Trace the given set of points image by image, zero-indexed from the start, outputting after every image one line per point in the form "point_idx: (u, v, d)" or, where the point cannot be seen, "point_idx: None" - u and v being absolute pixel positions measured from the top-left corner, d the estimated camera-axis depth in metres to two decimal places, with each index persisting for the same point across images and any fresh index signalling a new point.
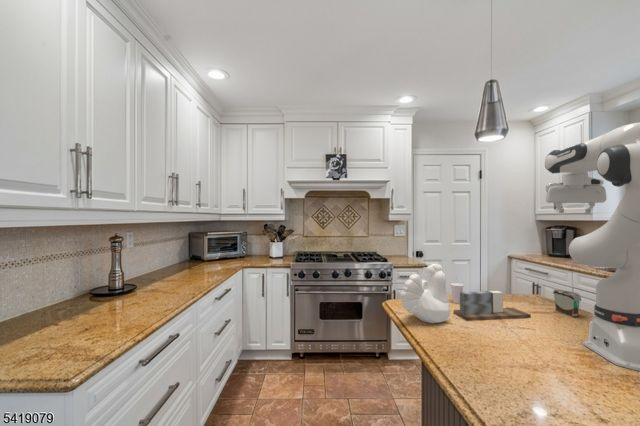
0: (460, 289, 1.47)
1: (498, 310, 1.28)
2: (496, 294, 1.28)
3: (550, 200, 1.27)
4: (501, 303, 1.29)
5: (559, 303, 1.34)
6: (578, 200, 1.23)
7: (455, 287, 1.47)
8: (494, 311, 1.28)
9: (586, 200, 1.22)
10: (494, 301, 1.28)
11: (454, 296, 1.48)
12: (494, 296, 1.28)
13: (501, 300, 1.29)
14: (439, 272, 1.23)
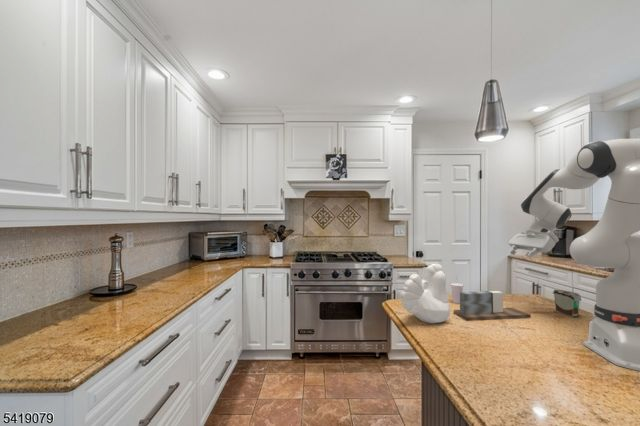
0: (460, 289, 1.47)
1: (498, 310, 1.28)
2: (496, 294, 1.28)
3: (509, 242, 1.41)
4: (501, 303, 1.29)
5: (559, 303, 1.34)
6: (525, 244, 1.31)
7: (455, 287, 1.47)
8: (494, 311, 1.28)
9: (530, 244, 1.29)
10: (494, 301, 1.28)
11: (454, 296, 1.48)
12: (494, 296, 1.28)
13: (501, 300, 1.29)
14: (439, 272, 1.23)
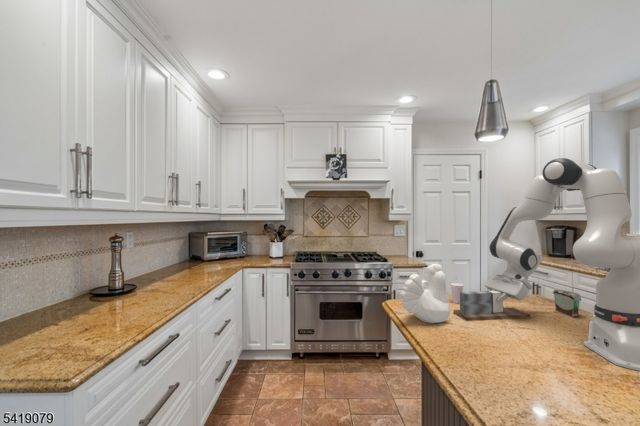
0: (460, 289, 1.47)
1: (498, 310, 1.28)
2: (496, 294, 1.28)
3: (485, 284, 1.39)
4: (501, 303, 1.29)
5: (559, 303, 1.34)
6: (500, 289, 1.30)
7: (455, 287, 1.47)
8: (494, 311, 1.28)
9: (505, 290, 1.27)
10: (494, 301, 1.28)
11: (454, 296, 1.48)
12: (494, 296, 1.28)
13: None
14: (439, 272, 1.23)
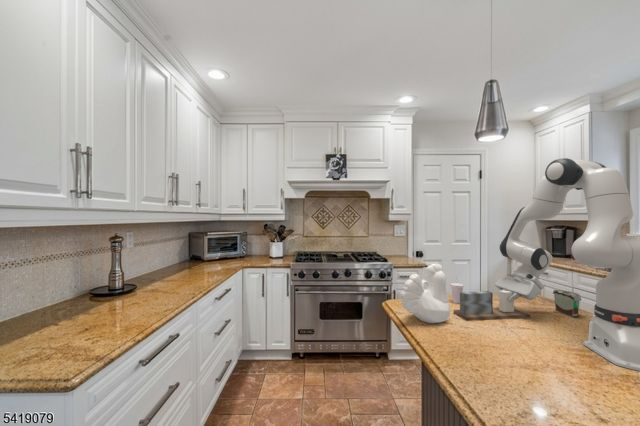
0: (460, 289, 1.47)
1: (509, 310, 1.29)
2: (507, 294, 1.29)
3: (495, 283, 1.40)
4: (512, 303, 1.29)
5: (559, 303, 1.34)
6: (511, 288, 1.30)
7: (455, 287, 1.47)
8: (505, 311, 1.29)
9: (516, 290, 1.27)
10: (505, 301, 1.29)
11: (454, 296, 1.48)
12: (505, 296, 1.29)
13: None
14: (439, 272, 1.23)
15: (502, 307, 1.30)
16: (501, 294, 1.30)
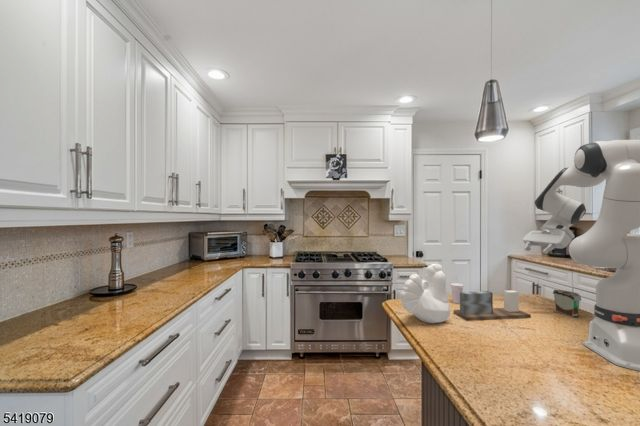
0: (460, 289, 1.47)
1: (514, 309, 1.29)
2: (512, 293, 1.29)
3: (523, 238, 1.42)
4: (517, 302, 1.30)
5: (559, 303, 1.34)
6: (541, 240, 1.32)
7: (455, 287, 1.47)
8: (510, 310, 1.29)
9: (546, 241, 1.30)
10: (510, 300, 1.29)
11: (454, 296, 1.48)
12: (510, 296, 1.29)
13: (517, 299, 1.30)
14: (439, 272, 1.23)
15: (507, 307, 1.30)
16: (506, 294, 1.30)
